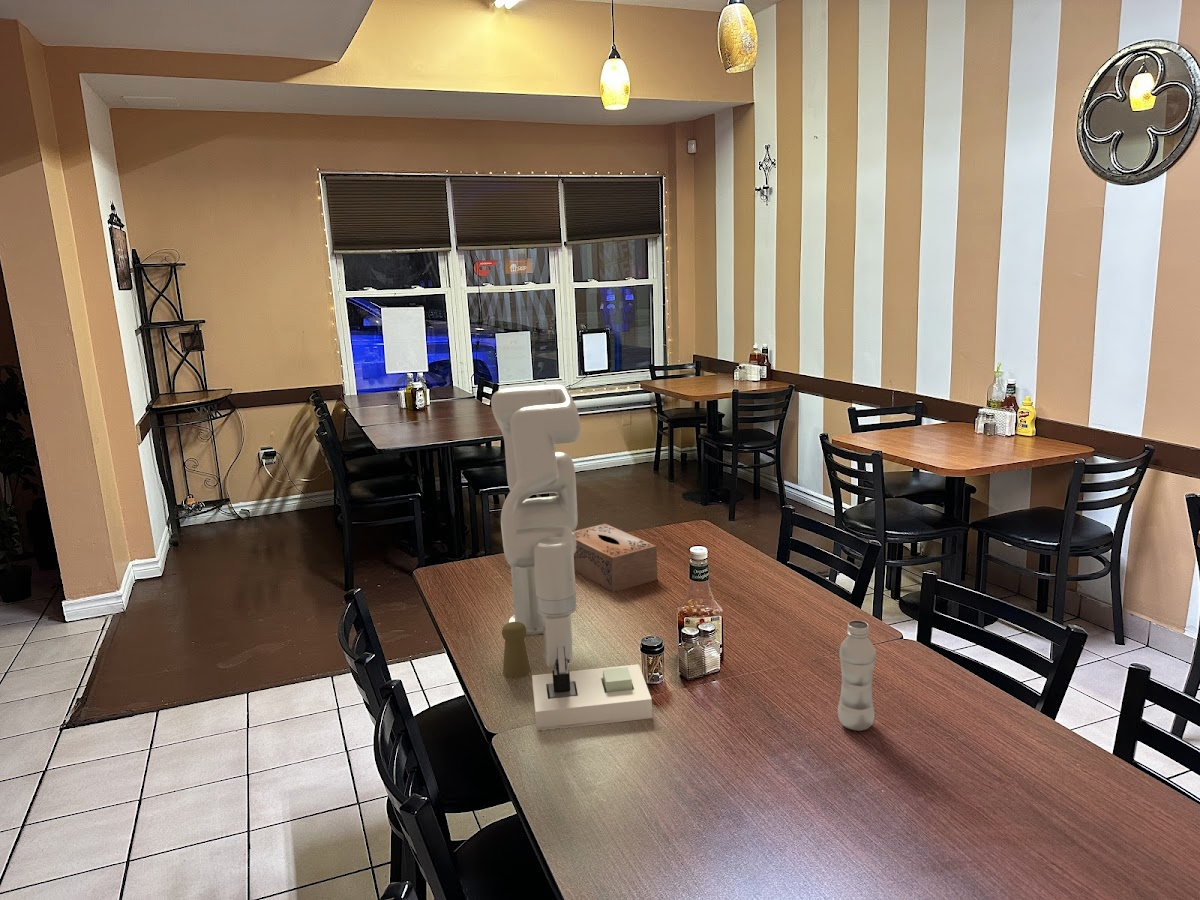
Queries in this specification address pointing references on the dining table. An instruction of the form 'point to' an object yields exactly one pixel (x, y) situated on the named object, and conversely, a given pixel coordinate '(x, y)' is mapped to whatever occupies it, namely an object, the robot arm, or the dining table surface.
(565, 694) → the charcoal key
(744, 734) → the dining table surface
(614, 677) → the sage key
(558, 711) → the key panel
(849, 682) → the plastic bottle
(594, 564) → the tissue box cover
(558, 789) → the dining table surface
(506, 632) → the brown pawn
